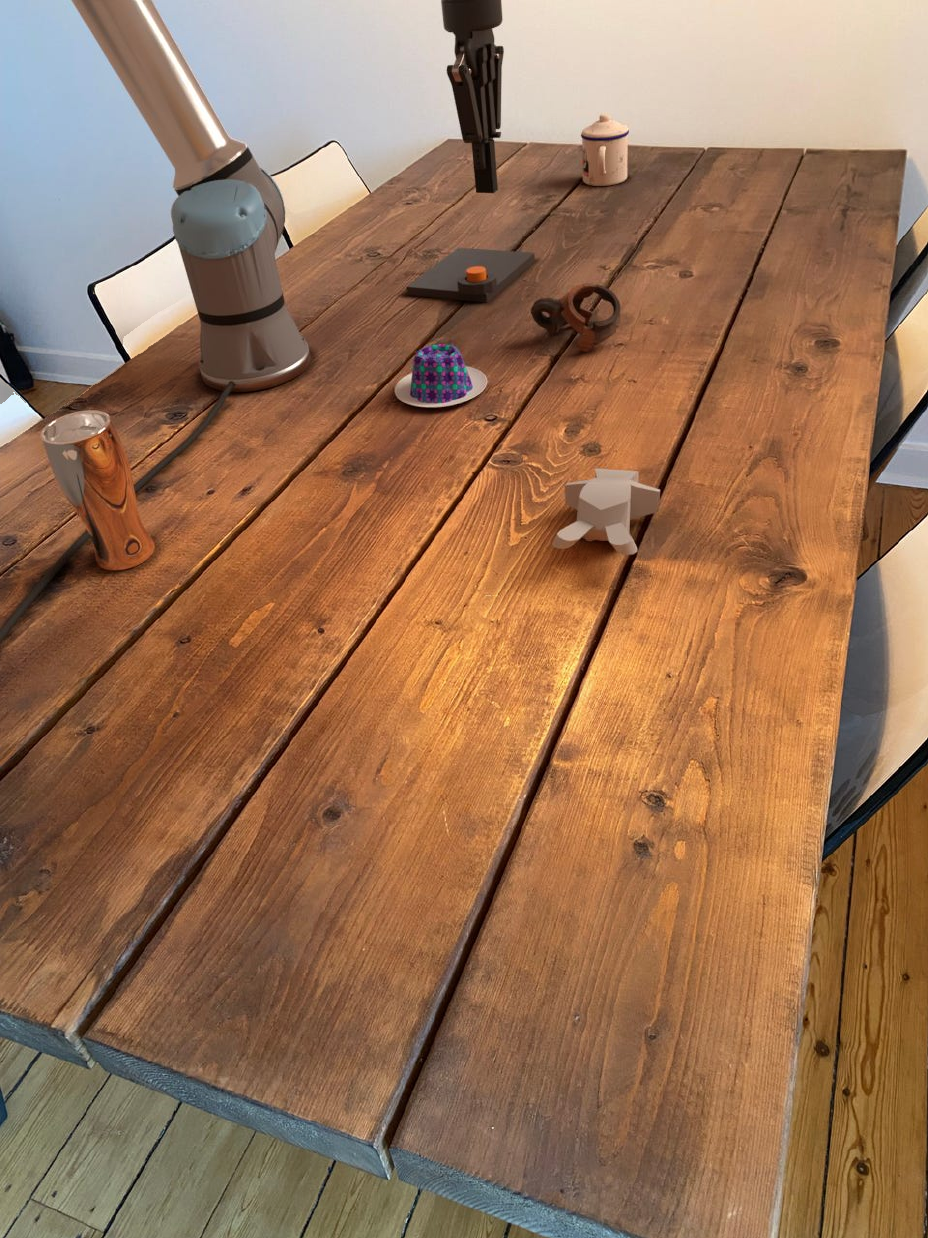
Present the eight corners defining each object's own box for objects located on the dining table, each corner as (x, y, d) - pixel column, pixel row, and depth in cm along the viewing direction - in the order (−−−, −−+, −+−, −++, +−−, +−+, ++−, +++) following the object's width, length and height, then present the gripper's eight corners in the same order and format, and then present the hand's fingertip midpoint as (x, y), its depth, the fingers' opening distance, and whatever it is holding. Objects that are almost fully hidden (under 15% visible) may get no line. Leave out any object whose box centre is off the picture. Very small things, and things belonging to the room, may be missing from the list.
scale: (487, 305, 142) (485, 285, 140) (404, 297, 148) (401, 278, 146) (537, 261, 155) (536, 242, 153) (459, 255, 161) (457, 237, 159)
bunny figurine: (667, 459, 96) (645, 527, 84) (664, 504, 99) (643, 576, 87) (574, 453, 99) (541, 518, 87) (574, 498, 101) (542, 567, 89)
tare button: (481, 284, 142) (480, 273, 141) (463, 282, 143) (462, 272, 142) (489, 276, 144) (489, 266, 143) (472, 275, 145) (471, 265, 144)
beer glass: (134, 528, 103) (86, 402, 94) (172, 547, 100) (126, 419, 90) (79, 560, 100) (23, 433, 90) (117, 581, 96) (63, 451, 86)
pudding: (497, 371, 125) (494, 333, 121) (474, 414, 116) (470, 374, 113) (411, 368, 128) (406, 331, 125) (382, 410, 119) (376, 371, 116)
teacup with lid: (584, 174, 190) (583, 110, 183) (630, 172, 188) (630, 107, 181) (577, 192, 182) (576, 125, 174) (625, 190, 180) (626, 122, 172)
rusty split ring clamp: (607, 322, 134) (625, 280, 127) (608, 376, 131) (627, 336, 123) (524, 309, 133) (538, 266, 125) (523, 364, 129) (537, 323, 122)
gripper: (475, -2, 112) (492, 206, 127) (518, -19, 120) (529, 177, 135) (419, 1, 115) (442, 205, 130) (465, -16, 123) (481, 176, 138)
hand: (486, 191), depth 133 cm, fingers closed
